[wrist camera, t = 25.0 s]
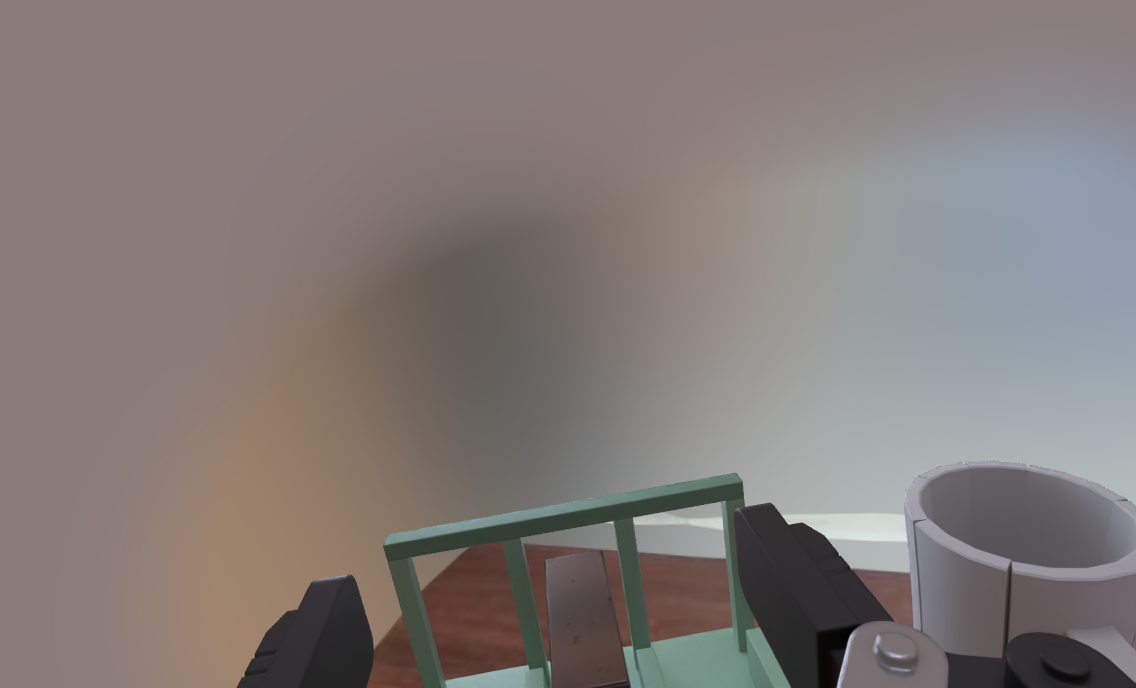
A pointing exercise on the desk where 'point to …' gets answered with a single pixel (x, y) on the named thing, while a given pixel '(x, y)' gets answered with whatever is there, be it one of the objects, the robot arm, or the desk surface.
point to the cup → (1021, 559)
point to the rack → (656, 669)
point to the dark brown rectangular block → (583, 624)
